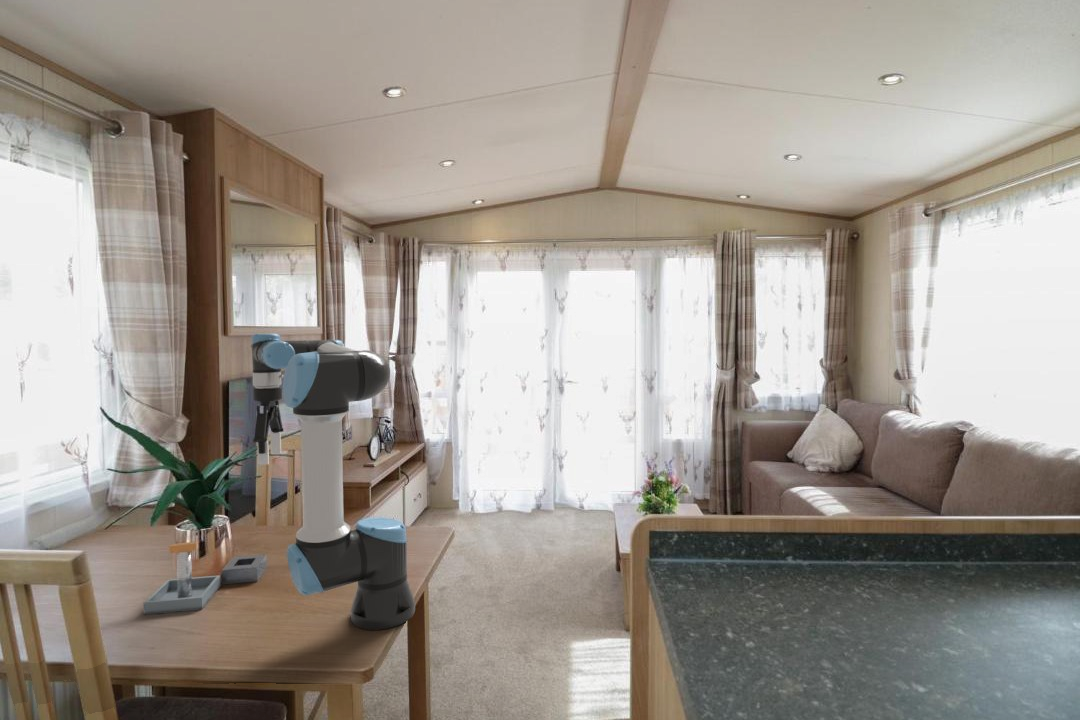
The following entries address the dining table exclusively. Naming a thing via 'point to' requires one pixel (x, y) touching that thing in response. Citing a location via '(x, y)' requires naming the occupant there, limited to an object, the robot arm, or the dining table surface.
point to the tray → (169, 602)
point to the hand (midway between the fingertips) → (270, 459)
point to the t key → (184, 567)
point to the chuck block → (244, 569)
